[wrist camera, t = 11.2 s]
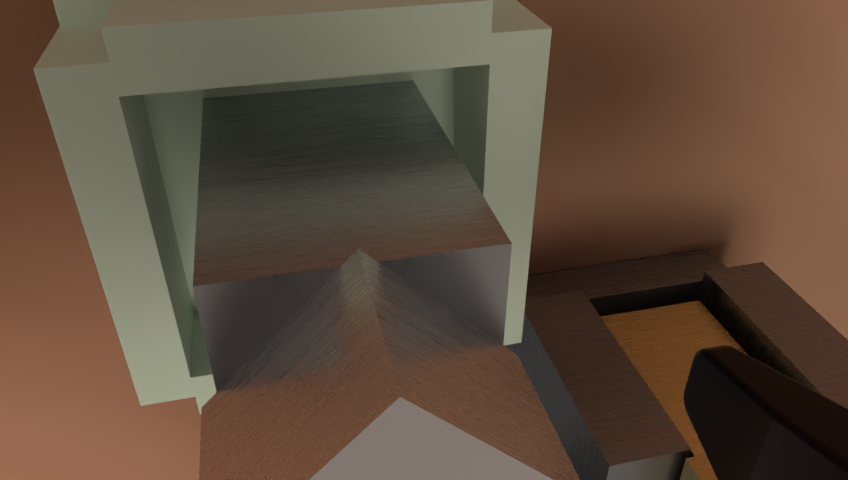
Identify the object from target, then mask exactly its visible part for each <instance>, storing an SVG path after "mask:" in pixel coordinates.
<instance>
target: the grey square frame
mask: <svg viewBox="0 0 848 480" xmlns="http://www.w3.org/2000/svg"><path fill="white" fill-rule="evenodd" d="M52 1H53V4H54V7H55V11H56V14H57V18H58V21H59V25H60V26H59V28H58V30H57V31H56V33H55V35H54V36H53V38H52V39H51V41H50V43H49V44H48V46H47V47H46V49H45V51H44V52H43V54H42V56H41V57H40V59H39V60H38V62H37V64H36V65H35V67H34V68H33V71H34V74H35V77H36V80H37V83H38V86H39V89H40V93H41V96H42V99H43V102H44V105H45V108H46V111H47V114H48V118H49V121H50V124H51V127H52V130H53V133H54V136H55V139H56V143H57V146H58V149H59V152H60V155H61V158H62V161H63V164H64V168H65V171H66V174H67V177H68V180H69V183H70V186H71V189H72V193H73V196H74V199H75V202H76V205H77V208H78V211H79V214H80V218H81V221H82V224H83V227H84V230H85V233H86V236H87V239H88V243H89V246H90V249H91V252H92V255H93V258H94V261H95V265H96V268H97V271H98V274H99V277H100V280H101V283H102V286H103V290H104V293H105V296H106V299H107V302H108V305H109V308H110V311H111V315H112V318H113V321H114V324H115V327H116V330H117V333H118V336H119V340H120V343H121V346H122V349H123V352H124V355H125V358H126V361H127V365H128V368H129V371H130V374H131V377H132V380H133V383H134V386H135V390H136V393H137V396H138V399H139V402H140V405H141V406H143V405H149V404H155V403H161V402H167V401H173V400H179V399H185V398H191V397H196V401H197V405H198V409H199V413H200V415H201V408H202V407H203V406H204V405H205V404H206V403H207V402H208V401H209V400H210V399H211V398H212V397H213V395H214V394H215V393H216V387H215V383H214V379H213V374H212V370H211V365H210V361H209V357H208V352H207V348H206V343H205V339H204V334H203V330H202V326H201V321H200V317H199V312H198V308H197V303H196V299H195V295H194V290H193V271H194V253H195V235H196V218H197V200H198V182H199V164H200V146H201V128H202V110H203V98H213V97H225V96H237V95H248V94H260V93H271V92H283V91H295V90H306V89H318V88H329V87H341V86H353V85H364V84H376V83H387V82H399V81H411V80H413V81H414V83H415V84H416V86H417V88H418V89H419V91H420V93H421V94H422V96H423V98H424V99H425V101H426V102H427V104H428V106H429V107H430V109H431V111H432V112H433V114H434V116H435V117H436V119H437V121H438V122H439V124H440V126H441V127H442V129H443V131H444V132H445V134H446V135H447V137H448V139H449V140H450V142H451V144H452V145H453V147H454V149H455V150H456V152H457V154H458V155H459V157H460V159H461V160H462V162H463V164H464V165H465V167H466V168H467V170H468V172H469V173H470V175H471V177H472V178H473V180H474V182H475V183H476V185H477V187H478V188H479V190H480V192H481V193H482V195H483V197H484V198H485V200H486V201H487V203H488V205H489V206H490V208H491V210H492V211H493V213H494V215H495V216H496V218H497V220H498V221H499V223H500V225H501V226H502V228H503V230H504V231H505V233H506V234H507V236H508V238H509V239H510V241H511V243H512V248H511V260H510V272H509V284H508V296H507V308H506V320H505V332H504V344H503V345H509V344H515V343H521V341H522V331H523V321H524V311H525V300H526V290H527V280H528V270H529V259H530V249H531V239H532V229H533V218H534V208H535V198H536V188H537V177H538V167H539V157H540V146H541V136H542V126H543V116H544V105H545V95H546V85H547V75H548V64H549V54H550V44H551V34H552V28H551V27H550V26H548V25H547V24H546V23H545V22H543V21H542V20H541V19H540V18H538V17H537V16H536V15H535V14H533V13H532V12H531V11H530V10H528V9H527V8H526V7H525V6H523V5H522V4H521V3H520V2H518V1H517V0H52Z"/></svg>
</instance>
